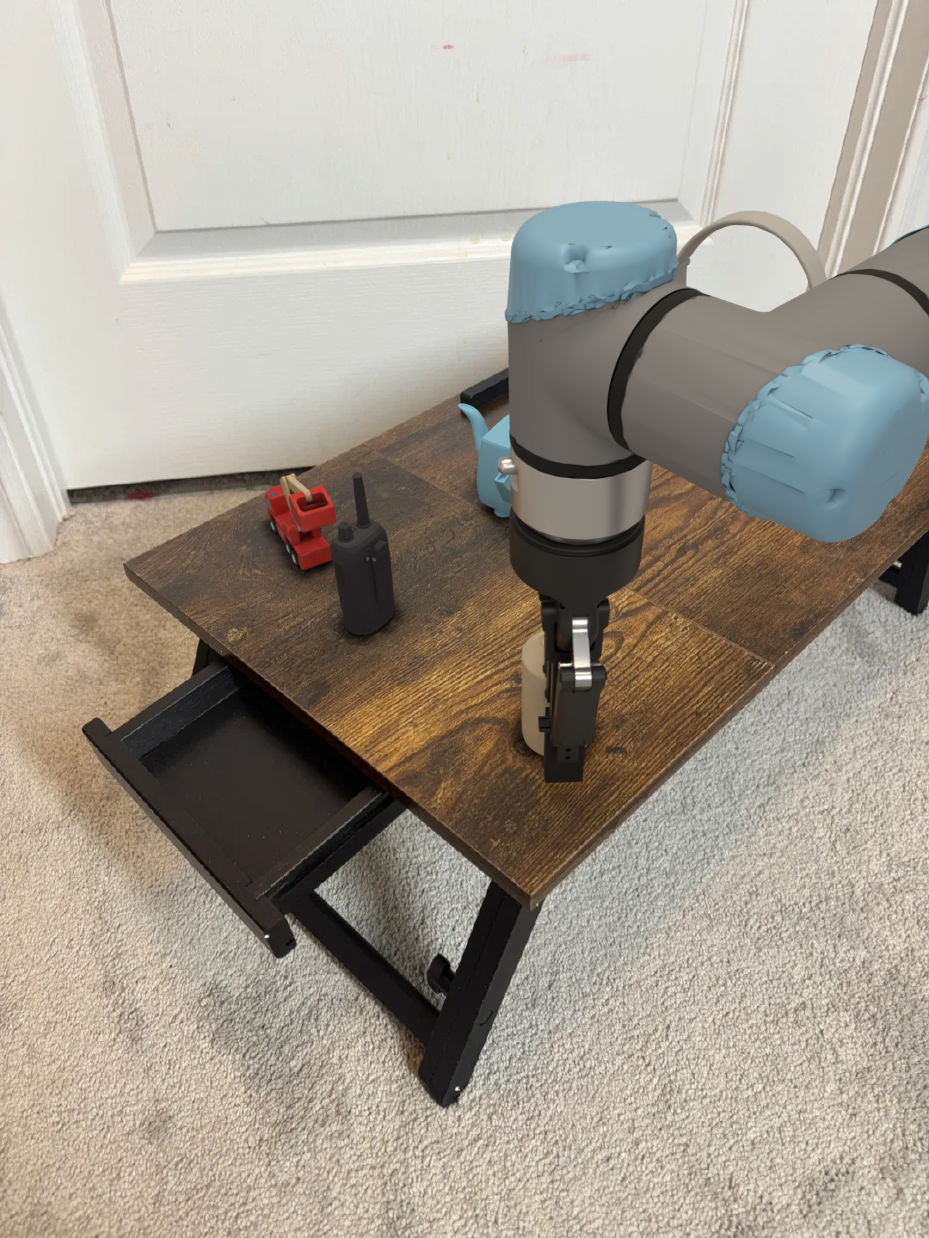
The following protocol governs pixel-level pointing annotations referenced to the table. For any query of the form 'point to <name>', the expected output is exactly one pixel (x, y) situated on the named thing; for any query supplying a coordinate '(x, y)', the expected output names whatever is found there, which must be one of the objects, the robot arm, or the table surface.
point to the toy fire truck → (301, 520)
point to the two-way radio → (363, 569)
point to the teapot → (491, 460)
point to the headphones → (770, 224)
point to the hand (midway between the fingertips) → (562, 774)
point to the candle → (533, 691)
